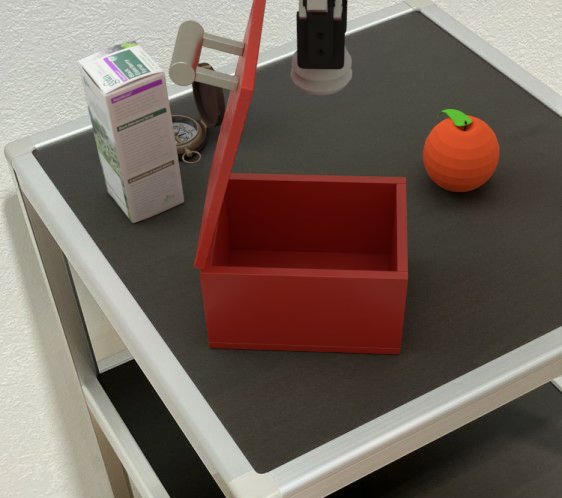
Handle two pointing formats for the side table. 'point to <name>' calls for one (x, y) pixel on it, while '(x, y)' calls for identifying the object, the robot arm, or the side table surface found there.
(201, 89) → the compass
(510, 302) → the side table surface
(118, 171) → the syrup box
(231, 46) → the red box lid
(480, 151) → the clementine
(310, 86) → the rook chess piece
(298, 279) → the red box
